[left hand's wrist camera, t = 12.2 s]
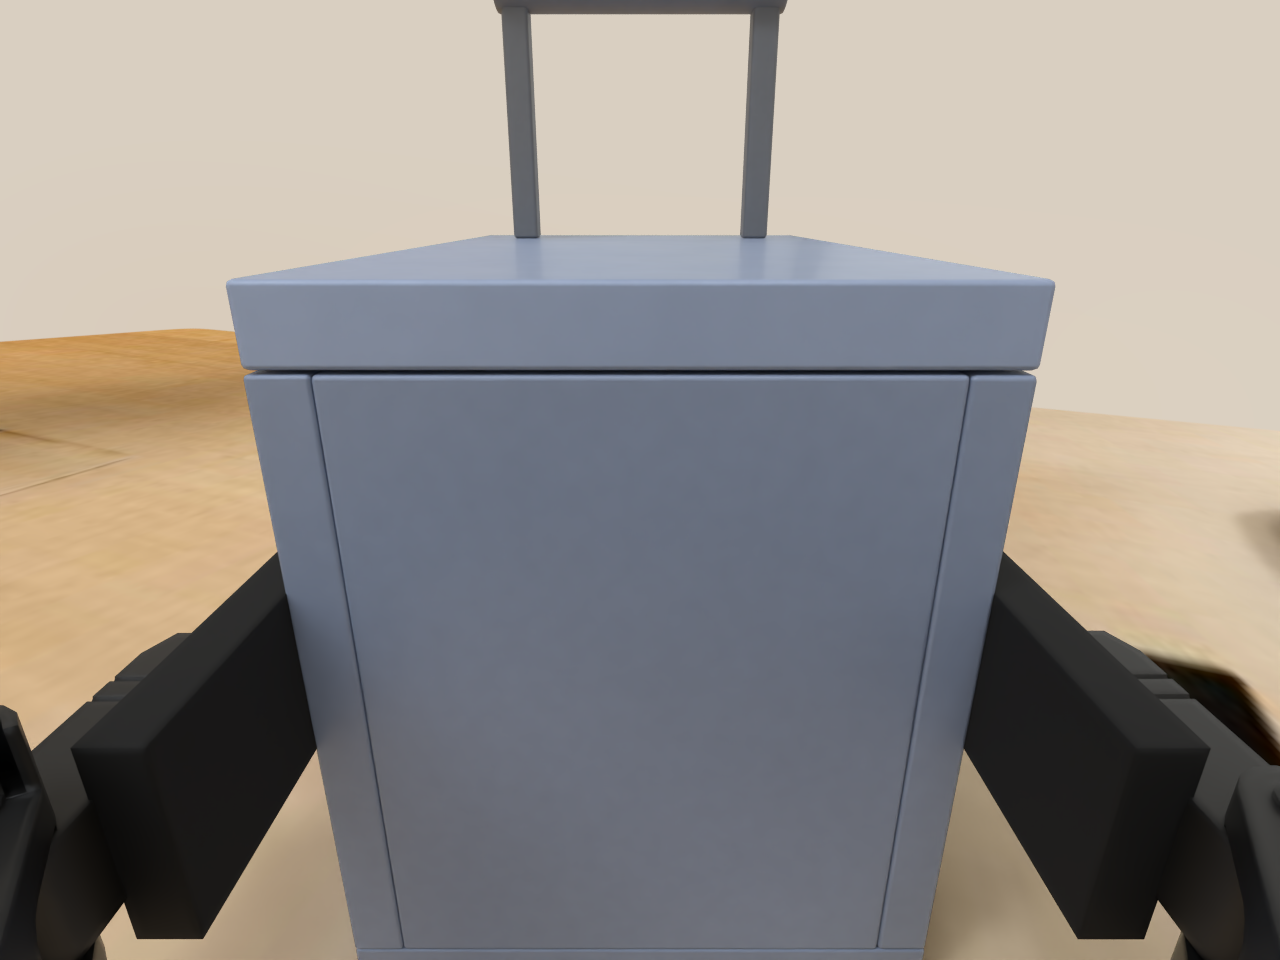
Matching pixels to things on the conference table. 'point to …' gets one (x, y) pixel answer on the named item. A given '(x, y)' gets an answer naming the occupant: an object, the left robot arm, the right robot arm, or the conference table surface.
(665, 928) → the chest
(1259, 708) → the conference table surface
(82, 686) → the conference table surface
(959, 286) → the lid
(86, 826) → the left robot arm
